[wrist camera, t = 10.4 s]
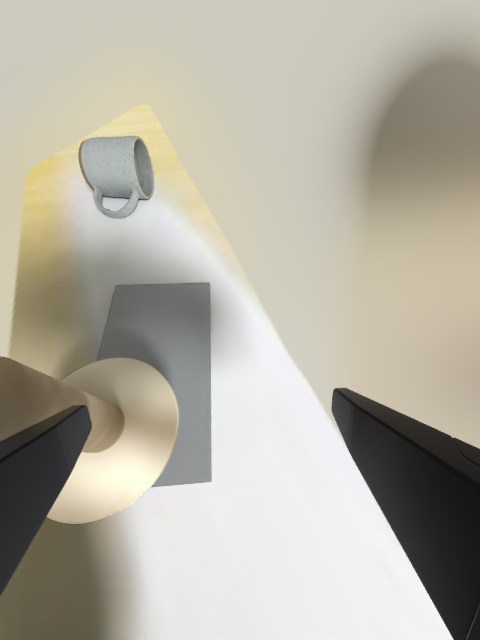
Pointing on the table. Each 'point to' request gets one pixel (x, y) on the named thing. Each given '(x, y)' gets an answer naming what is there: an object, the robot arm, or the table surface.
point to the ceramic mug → (117, 170)
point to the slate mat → (170, 361)
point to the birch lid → (99, 429)
